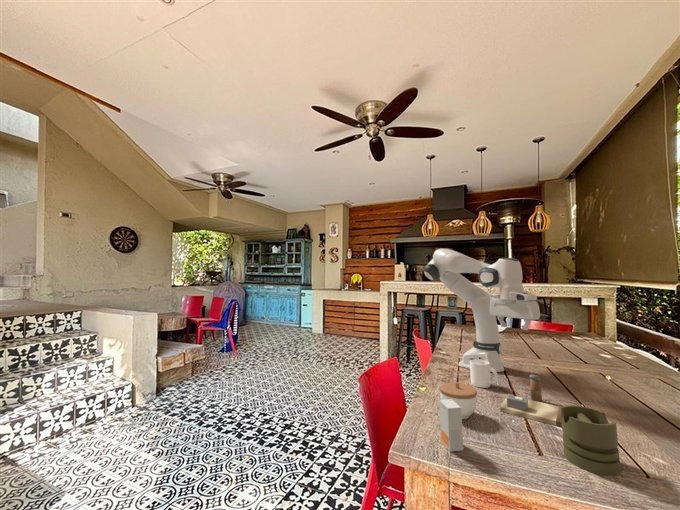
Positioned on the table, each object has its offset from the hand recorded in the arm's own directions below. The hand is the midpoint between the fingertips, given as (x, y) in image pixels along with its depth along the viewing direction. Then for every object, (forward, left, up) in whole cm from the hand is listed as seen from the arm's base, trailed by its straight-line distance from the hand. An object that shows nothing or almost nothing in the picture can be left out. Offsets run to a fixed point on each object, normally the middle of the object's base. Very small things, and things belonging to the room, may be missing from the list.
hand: (514, 328), depth 121 cm
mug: (-14, +4, -28) cm, 31 cm away
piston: (+22, -36, -28) cm, 51 cm away
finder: (+2, -15, -26) cm, 30 cm away
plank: (+9, -12, -28) cm, 32 cm away
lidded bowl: (-14, -31, -28) cm, 44 cm away
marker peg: (+6, 0, -28) cm, 28 cm away
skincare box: (-9, -52, -28) cm, 60 cm away
